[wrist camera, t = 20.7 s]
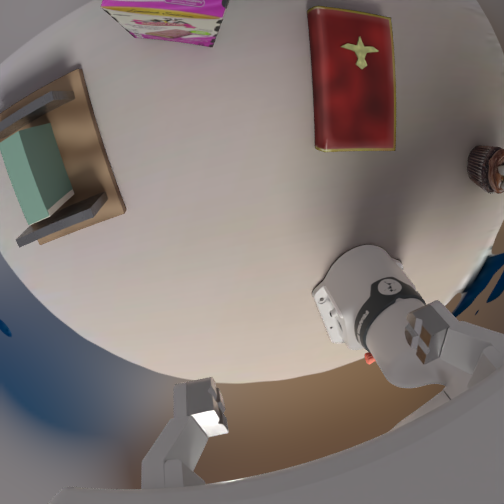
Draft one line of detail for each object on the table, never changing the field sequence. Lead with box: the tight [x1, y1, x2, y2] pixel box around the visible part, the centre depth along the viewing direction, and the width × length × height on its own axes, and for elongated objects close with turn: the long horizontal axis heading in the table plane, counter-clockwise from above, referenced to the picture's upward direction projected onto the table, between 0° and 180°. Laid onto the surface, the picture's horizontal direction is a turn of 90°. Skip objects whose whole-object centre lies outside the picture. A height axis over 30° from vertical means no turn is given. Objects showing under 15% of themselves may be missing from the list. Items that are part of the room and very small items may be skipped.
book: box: [0, 123, 74, 225], centre depth 32 cm, size 4×11×9 cm, turn 13°
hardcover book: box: [307, 6, 396, 152], centre depth 37 cm, size 12×21×4 cm, turn 4°
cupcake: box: [467, 146, 504, 194], centre depth 44 cm, size 10×10×10 cm
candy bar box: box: [101, 0, 229, 47], centre depth 25 cm, size 11×5×16 cm, turn 76°
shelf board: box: [0, 69, 126, 245], centre depth 36 cm, size 22×16×2 cm
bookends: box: [0, 91, 108, 247], centre depth 32 cm, size 16×13×7 cm
